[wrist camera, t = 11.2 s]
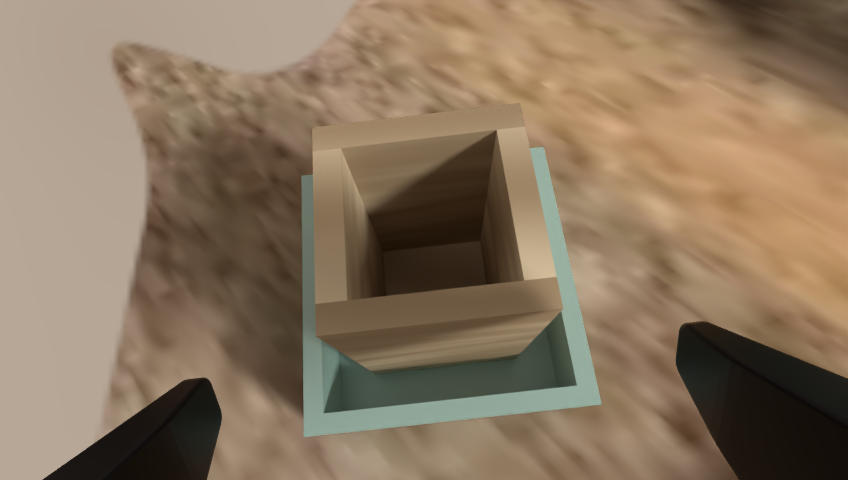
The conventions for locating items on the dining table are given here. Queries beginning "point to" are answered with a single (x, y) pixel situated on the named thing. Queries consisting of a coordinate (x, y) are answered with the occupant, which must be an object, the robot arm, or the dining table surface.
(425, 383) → the teal crate
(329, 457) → the dining table surface
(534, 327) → the birch crate
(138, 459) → the robot arm
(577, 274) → the dining table surface
